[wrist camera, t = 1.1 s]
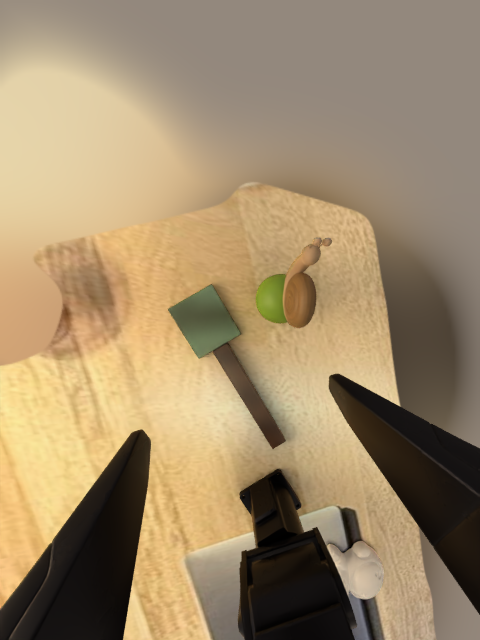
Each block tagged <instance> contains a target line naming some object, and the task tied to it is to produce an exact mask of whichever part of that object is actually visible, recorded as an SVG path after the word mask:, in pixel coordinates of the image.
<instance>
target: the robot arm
mask: <svg viewBox="0 0 480 640" xmlns="http://www.w3.org/2000/svg"><path fill="white" fill-rule="evenodd" d="M329 390H330V392H331V394H332V396H333V398H334V400H335V401H336V403H337V405H338V407H339V409H340V410H341V412H342V414H343V416H344V418H345V419H346V421H347V423H348V424H349V426H350V427H351V429H352V430H353V432H354V433H355V435H356V436H357V437H358V439H359V440H360V442H361V443H362V445H363V446H364V448H365V449H366V450H367V452H368V453H369V455H370V456H371V458H372V459H373V461H374V462H375V464H376V465H377V466H378V468H379V469H380V471H381V472H382V474H383V475H384V477H385V478H386V479H387V481H388V482H389V484H390V485H391V487H392V488H393V490H394V491H395V493H396V494H397V495H398V497H399V498H400V500H401V501H402V503H403V504H404V506H405V507H406V508H407V510H408V511H409V513H410V514H411V516H412V517H413V519H414V520H415V522H416V523H417V524H418V526H419V527H420V529H421V530H422V532H423V533H424V535H425V536H426V537H427V539H428V540H429V542H430V543H431V545H432V546H434V549H435V551H436V552H437V554H438V555H439V556H440V558H441V559H442V561H443V562H444V564H445V565H446V566H447V568H448V569H449V571H450V572H451V574H452V575H453V577H454V578H455V580H456V581H457V582H458V584H459V585H460V587H461V588H462V590H463V591H464V593H465V594H466V596H467V597H468V599H469V600H470V601H471V603H472V604H473V606H474V607H475V609H476V610H477V612H478V613H479V615H480V448H478V447H476V446H474V445H472V444H470V443H468V442H466V441H463V440H462V439H459V438H458V437H456V436H454V435H452V434H450V433H448V432H446V431H444V430H442V429H441V428H439V427H437V426H435V425H433V424H430V423H429V422H427V421H425V420H424V419H422V418H420V417H418V416H416V415H414V414H413V413H411V412H409V411H407V410H405V409H403V408H402V407H400V406H398V405H396V404H394V403H392V402H390V401H389V400H387V399H385V398H383V397H381V396H379V395H377V394H376V393H374V392H372V391H370V390H368V389H366V388H364V387H363V386H361V385H359V384H357V383H355V382H353V381H351V380H350V379H348V378H346V377H344V376H342V375H340V374H334V375H330V377H329ZM150 450H151V441H150V438H149V437H148V436H147V434H146V433H145V432H144V431H143V430H138V431H134V432H132V433H131V434H130V436H129V437H128V438H127V440H126V441H125V443H124V444H123V445H122V447H121V448H120V449H119V451H118V452H117V453H116V455H115V456H114V458H113V459H112V460H111V462H110V463H109V464H108V466H107V467H106V468H105V470H104V471H103V472H102V474H101V475H100V477H99V478H98V479H97V481H96V482H95V483H94V485H93V486H92V487H91V489H90V490H89V491H88V493H87V494H86V496H85V497H84V498H83V500H82V501H81V502H80V504H79V505H78V506H77V508H76V509H75V511H74V512H73V513H72V515H71V516H70V517H69V519H68V520H67V521H66V523H65V524H64V525H63V527H62V528H61V530H60V531H59V532H58V534H57V535H56V536H55V538H54V539H53V541H52V543H50V544H49V546H48V547H47V548H46V550H45V551H44V552H43V554H42V555H41V557H40V558H39V559H38V561H37V562H36V563H35V565H34V566H33V567H32V569H31V570H30V571H29V573H28V574H27V575H26V577H25V578H24V579H23V581H22V582H21V583H20V584H19V586H18V587H17V588H16V590H15V591H14V592H13V593H12V595H11V596H10V597H9V598H8V600H7V601H6V602H5V604H4V605H3V606H2V607H1V609H0V640H123V636H124V630H125V624H126V617H127V611H128V605H129V599H130V593H131V586H132V580H133V574H134V568H135V562H136V556H137V549H138V543H139V537H140V531H141V525H142V519H143V512H144V506H145V500H146V494H147V487H148V479H149V465H150ZM243 495H244V496H243ZM240 499H241V501H242V502H243V504H244V505H245V507H246V508H247V510H248V511H249V513H250V514H251V516H252V521H253V529H254V537H255V544H256V548H255V549H252V550H249V551H247V550H245V551H242V562H240V568H239V569H240V604H239V614H238V628H239V632H240V633H241V635H242V636H243V637H244V639H245V640H355V639H354V636H353V633H352V630H351V629H353V628H356V627H357V624H356V620H355V616H354V613H353V610H352V607H351V604H350V601H349V598H348V595H347V592H346V590H345V587H344V584H343V582H342V579H341V577H340V574H339V572H338V570H337V567H336V565H335V563H334V561H333V559H332V557H331V555H330V553H329V551H328V549H327V546H326V544H325V542H324V540H323V538H322V536H321V534H320V532H319V530H318V528H317V527H316V528H312V529H313V530H310V531H307V532H304V531H303V528H302V525H301V522H300V519H299V516H298V513H297V511H296V510H298V509H299V508H301V503H300V501H299V499H298V497H297V496H296V494H295V492H294V491H293V489H292V488H291V486H290V484H289V483H288V481H287V480H286V478H285V476H284V475H283V473H282V471H281V470H279V469H277V470H275V471H274V472H272V473H271V474H269V475H267V476H266V477H264V478H262V479H261V480H259V481H258V482H256V483H254V484H253V485H251V486H249V487H248V488H246V489H245V490H243V491H241V492H240Z"/></svg>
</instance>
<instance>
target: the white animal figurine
mask: <svg viewBox="0 0 480 640" xmlns="http://www.w3.org/2000/svg"><path fill="white" fill-rule="evenodd" d="M327 549H328V551H329V553H330V555H331V557H332V559H333V561H334V563H335V565H336V567H337V570H338V572H339V574H340V577H341V579H342V582H343V584H344V587H345V590H346V592H347V595H349V590H350V592H351V593H352V594H353V595H354V596H355V597H357V598H362V599H369V598H372V597H374V596H375V595H377V594H378V592H379V591H380V589H381V587H382V584H383V577H384V569H383V565H382V562H381V560H380V558H379V556H378V554H377V553H376V551H375V550H374V549H373V548H372V547H370V546H368V545H367V544H366V543H365V542H364V541H358V542H356V543H354V544H353V546H352V548H350V549H349V550H347V551H346V552H345V553H342V552H341V551H340V550H339V549H338V548H337V547H336V546H335V545H332V544H328V545H327Z"/></svg>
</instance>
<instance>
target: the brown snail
mask: <svg viewBox="0 0 480 640" xmlns="http://www.w3.org/2000/svg"><path fill="white" fill-rule="evenodd" d="M321 242H322V240H321V238H315V239H314V240H313V244H310V245H308V246H306V247H305V248H304V249H303V251H302V254H301V255H299V256H298V257H297V258H296V259H295V261H294V262H293V263H292V265H291V266H290V268H289V270H288V272H287V274H286V275H285V274H277V275H273V276H271V277H269V278H267V279H266V280H264V281H263V282H262V284H261V285H260V286H259V288H258V290H257V293H256V305H257V308H258V310H259V312H260V314H261V315H262V316H263V317H264V318H265V319H267V320H269V321H271V322H274V323H287V322H288V323H289V324H290V325H292V326H293V327H296V328H301V327H304V326H306V325H307V324H308V323H309V322H310V320H311V318H312V316H313V314H314V311H315V306H316V289H315V285H314V282H313V280H312V278H311V277H310V276H309V275H307V274H305V273H303V272H304V271H305V270H306V269H307V268H308V267H309V265H313V264H315V263H316V262H317V261H318V260H319V258H320V255H321V252H320V249H319V248H320V246H321V245H324V246H329V245H330V244H331V243H332V240H331V238H325V239H324V240H323V242H322V244H321ZM320 244H321V245H320ZM319 245H320V246H319ZM318 246H319V247H318Z"/></svg>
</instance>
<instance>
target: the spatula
mask: <svg viewBox="0 0 480 640" xmlns="http://www.w3.org/2000/svg"><path fill="white" fill-rule="evenodd" d="M168 311H169V312H170V314H171V316H172V317H173V319H174V320H175V322H176V324H177V325H178V327H179V328H180V330H181V331H182V333H183V335H184V336H185V338H186V339H187V341H188V343H189V344H190V346H191V347H192V349H193V351H194V352H195V354H196V355H197V357H198V358H199V359H200V358H201V357H203V356H205V355H206V354H208V353H210V352H211V351H213V353H214V355H215V356H216V358H217V359H218V361H219V363H220V364H221V366H222V368H223V369H224V371H225V372H226V374H227V376H228V377H229V379H230V381H231V382H232V384H233V385H234V387H235V389H236V390H237V392H238V394H239V395H240V397H241V398H242V400H243V402H244V403H245V405H246V407H247V408H248V410H249V411H250V413H251V415H252V416H253V418H254V420H255V421H256V423H257V424H258V426H259V428H260V429H261V431H262V432H263V434H264V436H265V437H266V439H267V441H268V442H269V444H270V445H271V447H272V449H274V448H275V447H277V446H279V445H280V444H282V443H284V442H285V441H286V440H285V438H284V436H283V434H282V432H281V430H280V429H279V427H278V425H277V424H276V422H275V420H274V419H273V417H272V415H271V414H270V412H269V411H268V409H267V407H266V406H265V404H264V402H263V401H262V399H261V397H260V396H259V394H258V392H257V391H256V389H255V387H254V386H253V384H252V382H251V381H250V379H249V377H248V376H247V374H246V372H245V371H244V369H243V367H242V366H241V364H240V362H239V361H238V359H237V357H236V356H235V354H234V352H233V351H232V349H231V347H230V346H229V344H228V341H230V340H232V339H234V338H235V337H237V336H239V335H240V334H241V333H240V331H239V330H238V328H237V326H236V324H235V323H234V321H233V319H232V318H231V316H230V314H229V313H228V311H227V309H226V307H225V306H224V304H223V302H222V301H221V299H220V297H219V295H218V294H217V292H216V290H215V289H214V287H213V285H212V284H211V285H209V286H207V287H206V288H204V289H202V290H200V291H199V292H197V293H195V294H194V295H192V296H190V297H188V298H187V299H185V300H183V301H181V302H180V303H178V304H176V305H174V306H173V307H171V308H169V309H168Z"/></svg>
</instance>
